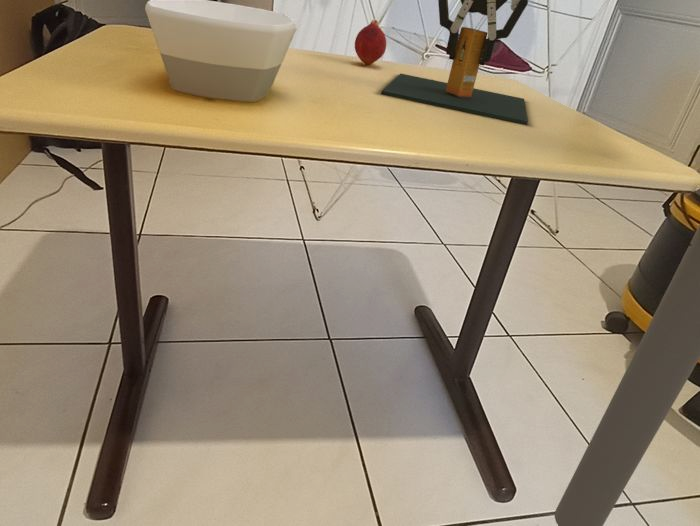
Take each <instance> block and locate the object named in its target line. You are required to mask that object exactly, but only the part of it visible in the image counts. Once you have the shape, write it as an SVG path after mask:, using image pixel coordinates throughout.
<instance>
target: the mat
mask: <svg viewBox="0 0 700 526" xmlns="http://www.w3.org/2000/svg"><path fill="white" fill-rule="evenodd" d="M447 83H448V82H444V81H439V80H435V79H430V78H426V77H420V76H416V75H411V74H410V75H409V74H406V73H399V74H398V75H397V76H396V77H395V78H394V79H393V80H391V82H389V83H388V84H387V85H386V86H384V87H383V89H382V90H381V91H380V94H381V95H383V96H389V97H394V98H399V99H403V100H408V101H412V102H416V103H421V104H426V105H432V106H435V107H436V106H437V107H441V108H445V109H450V110H455V111H460V112H464V113H469V114H474V115H478V116H484V117H488V118H493V119H498V120H502V121H507V122H512V123H517V124H521V125H526V126H527V125H528V124H529V123H528V122H529V119H528V114H527V107H526V102H525V98H524V97H519V96H515V95H508V94H504V93H498V92H493V91H488V90H484V89H478V88H473V91H472V95H471V97H457V96H455V95H452V94H450V93H447V92H446V87H447Z"/></svg>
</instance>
